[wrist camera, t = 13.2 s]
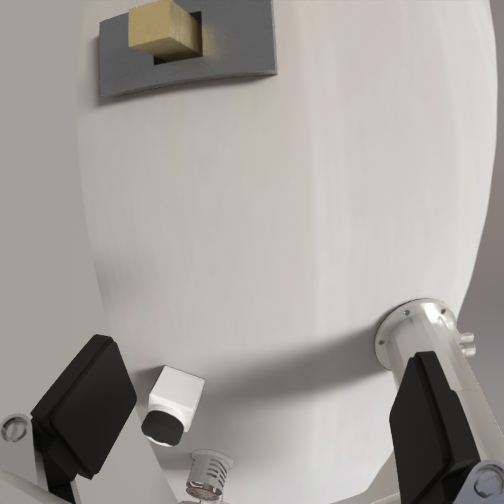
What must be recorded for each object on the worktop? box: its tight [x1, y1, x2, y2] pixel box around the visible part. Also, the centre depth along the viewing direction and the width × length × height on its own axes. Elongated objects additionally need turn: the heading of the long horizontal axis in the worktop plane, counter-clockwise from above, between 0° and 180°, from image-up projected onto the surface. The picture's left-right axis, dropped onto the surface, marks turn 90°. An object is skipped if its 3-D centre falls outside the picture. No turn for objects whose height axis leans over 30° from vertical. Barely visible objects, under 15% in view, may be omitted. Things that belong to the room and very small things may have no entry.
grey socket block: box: [99, 0, 278, 97], centre depth 28 cm, size 20×10×3 cm, turn 93°
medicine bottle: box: [141, 365, 205, 447], centre depth 45 cm, size 7×7×12 cm
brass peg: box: [128, 0, 203, 62], centre depth 25 cm, size 4×4×10 cm
